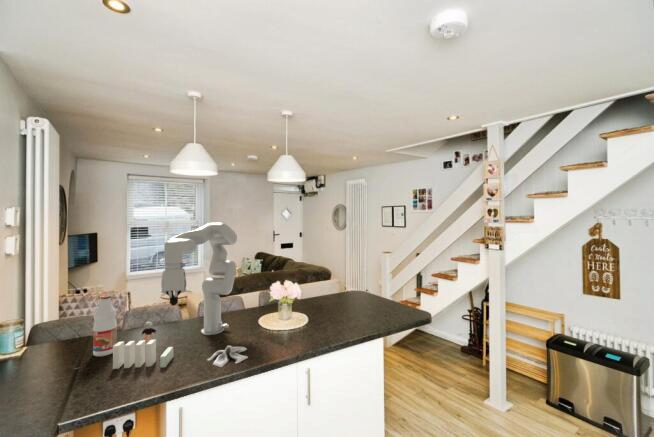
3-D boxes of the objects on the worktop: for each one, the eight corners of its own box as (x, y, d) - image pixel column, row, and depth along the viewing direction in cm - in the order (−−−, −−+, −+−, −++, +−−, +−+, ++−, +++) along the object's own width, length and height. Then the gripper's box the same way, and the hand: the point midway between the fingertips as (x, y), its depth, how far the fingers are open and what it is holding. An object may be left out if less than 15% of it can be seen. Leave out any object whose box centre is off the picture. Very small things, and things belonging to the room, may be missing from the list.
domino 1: (124, 363, 137) (124, 341, 137) (118, 368, 132) (118, 345, 132) (119, 363, 137) (119, 341, 137) (113, 368, 132) (113, 346, 132)
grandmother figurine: (139, 348, 152) (139, 323, 152) (140, 346, 156) (140, 321, 156) (157, 345, 156) (157, 321, 156) (157, 343, 159) (157, 319, 159)
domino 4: (156, 361, 139) (156, 339, 139) (151, 366, 134) (151, 343, 134) (150, 361, 139) (150, 339, 139) (146, 366, 134) (146, 344, 134)
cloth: (244, 346, 157) (244, 334, 157) (254, 360, 141) (254, 347, 141) (198, 356, 145) (198, 343, 145) (203, 372, 129) (203, 358, 129)
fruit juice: (121, 350, 151) (121, 294, 151) (101, 358, 142) (101, 299, 142) (108, 347, 154) (108, 292, 154) (88, 354, 145) (88, 297, 146)
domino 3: (145, 361, 138) (145, 340, 138) (140, 367, 133) (140, 344, 133) (140, 362, 138) (140, 340, 138) (135, 367, 133) (135, 344, 133)
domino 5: (173, 346, 143) (165, 356, 133) (173, 357, 143) (165, 367, 133) (168, 347, 143) (160, 356, 133) (168, 357, 143) (160, 367, 133)
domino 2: (135, 362, 138) (135, 340, 138) (129, 367, 133) (129, 345, 133) (129, 362, 137) (129, 341, 137) (124, 368, 132) (124, 345, 132)
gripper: (192, 264, 148) (192, 301, 148) (159, 265, 145) (160, 303, 146) (188, 267, 141) (188, 306, 141) (153, 268, 138) (154, 308, 138)
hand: (174, 304), depth 143 cm, fingers closed
